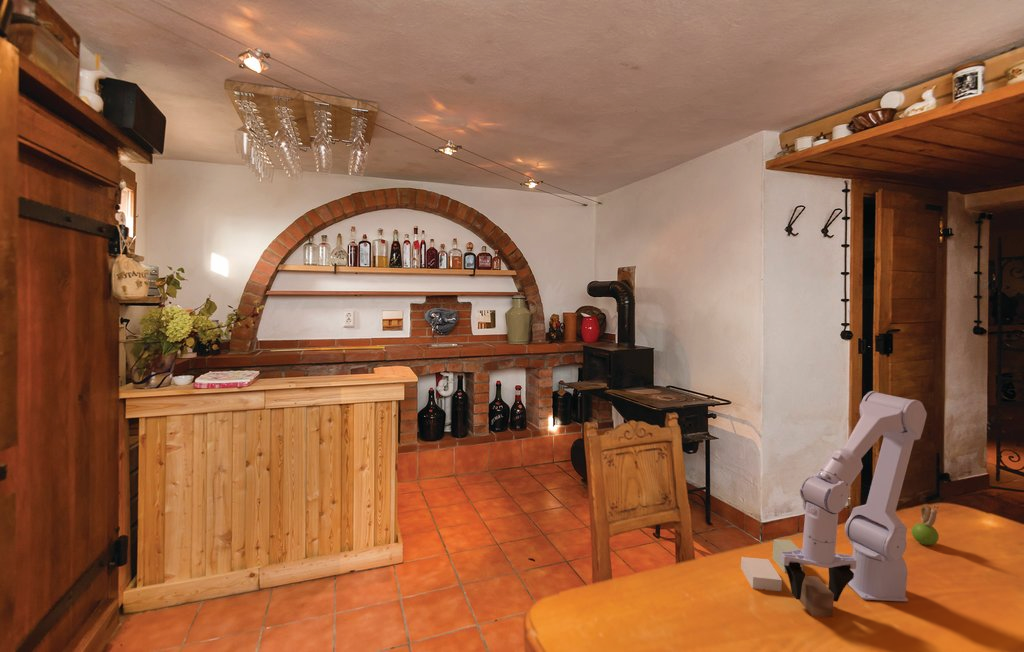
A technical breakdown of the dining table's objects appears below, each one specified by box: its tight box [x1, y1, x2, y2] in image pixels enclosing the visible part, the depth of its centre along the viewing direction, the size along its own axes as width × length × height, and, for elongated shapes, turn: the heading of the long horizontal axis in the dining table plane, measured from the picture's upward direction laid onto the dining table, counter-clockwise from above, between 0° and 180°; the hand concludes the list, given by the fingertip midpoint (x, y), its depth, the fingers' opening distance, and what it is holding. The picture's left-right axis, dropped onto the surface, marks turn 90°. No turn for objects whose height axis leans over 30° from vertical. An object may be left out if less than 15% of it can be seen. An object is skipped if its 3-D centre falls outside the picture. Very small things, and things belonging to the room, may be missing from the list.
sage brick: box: [772, 538, 804, 574], centre depth 116 cm, size 4×6×5 cm, turn 177°
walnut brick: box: [798, 575, 835, 618], centre depth 101 cm, size 4×6×5 cm, turn 177°
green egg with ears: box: [911, 504, 940, 546], centre depth 127 cm, size 5×6×12 cm
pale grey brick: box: [740, 556, 783, 592], centre depth 111 cm, size 6×8×3 cm
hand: (814, 597), depth 101 cm, fingers open, 7 cm apart
